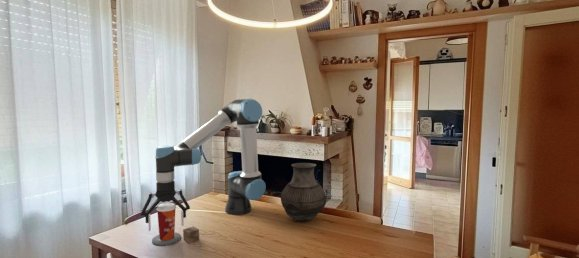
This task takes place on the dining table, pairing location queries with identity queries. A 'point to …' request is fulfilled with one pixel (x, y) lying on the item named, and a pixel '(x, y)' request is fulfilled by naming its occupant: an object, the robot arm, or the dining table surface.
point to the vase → (303, 193)
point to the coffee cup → (166, 220)
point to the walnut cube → (190, 234)
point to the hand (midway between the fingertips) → (166, 227)
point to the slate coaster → (159, 242)
